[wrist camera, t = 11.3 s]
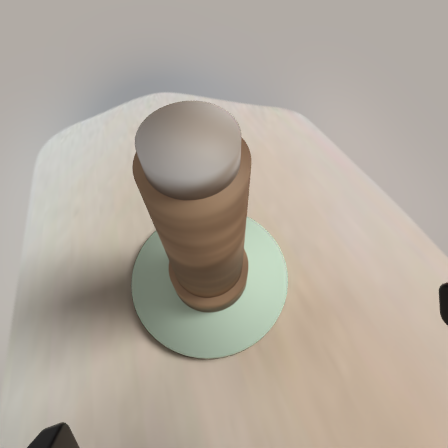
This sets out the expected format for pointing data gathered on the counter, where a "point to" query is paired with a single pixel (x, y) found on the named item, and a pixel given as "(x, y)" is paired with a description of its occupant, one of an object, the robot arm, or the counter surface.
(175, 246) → the pepper mill
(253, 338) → the rubber mat
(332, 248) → the counter surface
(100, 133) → the counter surface
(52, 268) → the counter surface
